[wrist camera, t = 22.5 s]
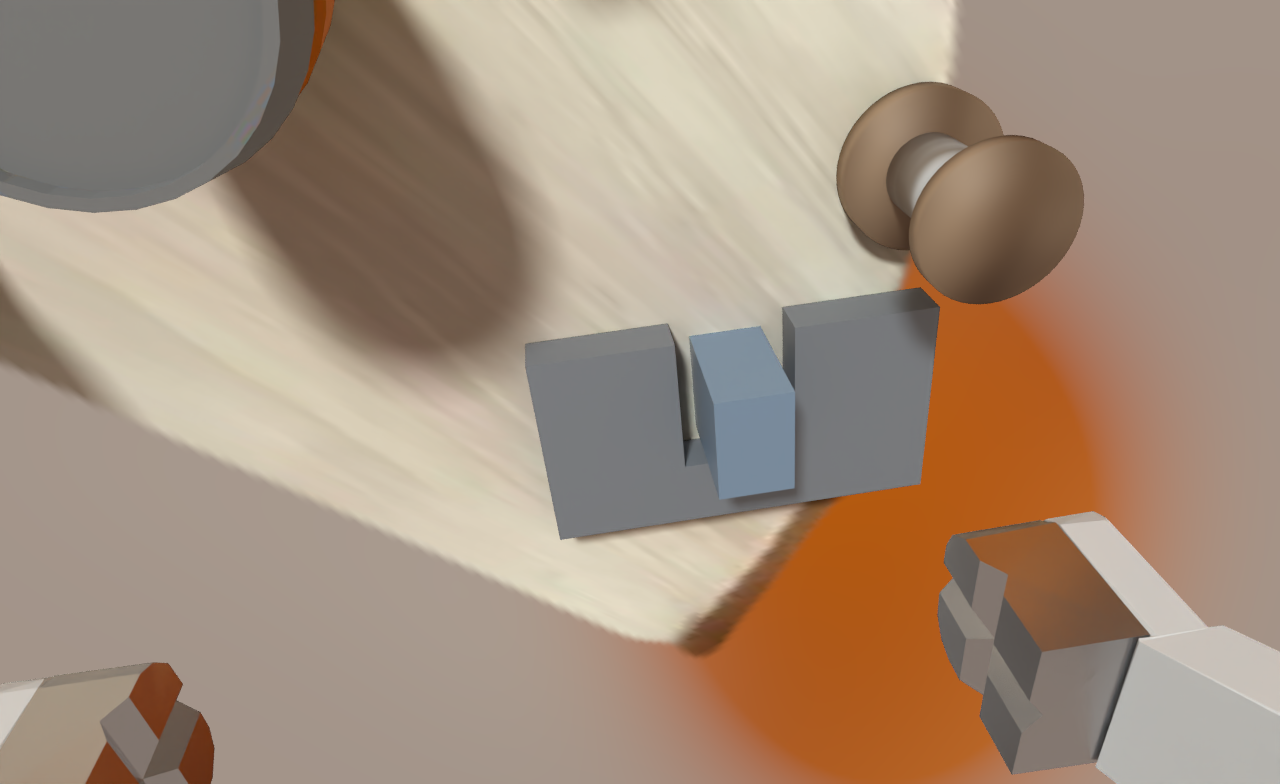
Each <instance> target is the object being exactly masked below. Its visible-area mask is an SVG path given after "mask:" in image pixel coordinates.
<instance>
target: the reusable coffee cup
mask: <svg viewBox="0 0 1280 784" xmlns="http://www.w3.org/2000/svg"><path fill="white" fill-rule="evenodd" d="M334 2H335V0H0V195H1V196H5V197H9V198H13V199H16V200H20V201H24V202H28V203H31V204H35V205H39V206H43V207H46V208H54V209H63V210H73V211H82V212H92V213H96V212H110V211H124V210H137V209H140V208H144V207H148V206H151V205H155V204H159V203H162V202H166V201H169V200H173V199H176V198H178V197H180V196H182V195H184V194H186V193H188V192H189V191H191V190H193V189H195V188H197V187H199V186H201V185H203V184H205V183H207V182H209V181H210V180H212V179H214V178H216V177H218V176H220V175H222V174H224V173H226V172H227V171H229V170H231V169H233V168H235V167H237V166H239V165H241V164H242V163H244V162H246V161H247V160H248V159H249V158H250V157H251V156H253V155H254V154H255V153H256V152H257V151H258V150H259V149H261V148H262V147H263V146H264V145H265V144H266V143H267V142H268V141H270V140H271V139H272V138H273V136H274V135H275V134H276V132H277V131H278V129H279V128H280V126H281V125H282V123H283V122H284V121H285V119H286V118H287V116H288V115H289V113H290V112H291V111H292V109H293V108H294V105H295V103H296V100H297V98H298V96H299V95H300V93H301V92H302V90H303V89H304V87H305V86H306V84H307V83H308V81H309V78H310V76H311V73H312V71H313V68H314V66H315V63H316V61H317V58H318V56H319V53H320V51H321V48H322V46H323V43H324V40H325V38H326V35H327V33H328V30H329V28H330V25H331V20H332V14H333V8H334Z"/></svg>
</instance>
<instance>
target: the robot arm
mask: <svg viewBox="0 0 1280 784" xmlns="http://www.w3.org/2000/svg"><path fill="white" fill-rule="evenodd" d="M944 564H945V565H946V567H947V569H948V570H949V572H950V573H951V575H952V577H953V579H952V580H951V581H950V582H949V583H948V584H947V585H946V586H945V587H944V588H943V590H942V591H941V592H940V594H939V605H938V621H939V627H940V633H941V638H942V642H943V645H944V648H945V650H946V653H947V656H948V658H949V661H950V662H951V664H952V666H953V668H954V670H955V672H956V674H957V676H958V678H959V680H961V681H962V682H964V683H966V684H967V685H968V686H970V687H972V688H973V689H975V690H976V691H978V692H980V693H981V694H982V695H983V700H982V706H981V711H980V718H981V720H982V722H983V723H984V725H985V727H986V729H987V731H988V732H989V734H990V736H991V738H992V740H993V741H994V743H995V745H996V746H997V749H998V750H999V752H1000V754H1001V756H1002V758H1003V759H1004V761H1005V763H1006V765H1007V767H1008V768H1009V770H1010V772H1011V774H1019V773H1026V772H1033V771H1039V770H1047V769H1054V768H1061V767H1068V766H1075V765H1081V764H1089V763H1095V762H1097V764H1096V768H1097V769H1099V770H1100V771H1101V772H1102V773H1104V774H1105V775H1106V776H1108V777H1109V778H1110V779H1112V780H1113V781H1114V782H1115V783H1117V784H1280V652H1279V651H1277V650H1275V649H1273V648H1270V647H1268V646H1266V645H1264V644H1262V643H1260V642H1258V641H1256V640H1253V639H1251V638H1249V637H1247V636H1245V635H1243V634H1241V633H1238V632H1236V631H1235V630H1232V629H1230V628H1228V627H1226V626H1224V625H1221V626H1213V627H1207V626H1206V624H1205V623H1204V622H1203V621H1202V620H1201V619H1200V618H1199V617H1198V616H1197V615H1196V614H1195V613H1194V612H1193V610H1192V609H1191V608H1190V607H1189V606H1188V605H1187V604H1186V603H1185V602H1184V601H1183V600H1182V599H1181V598H1180V597H1179V595H1177V593H1176V592H1175V591H1174V590H1173V589H1172V588H1171V587H1170V586H1169V585H1168V584H1167V583H1166V582H1165V581H1164V580H1163V578H1162V577H1161V576H1160V575H1159V574H1158V573H1157V572H1156V571H1155V570H1154V569H1153V568H1152V567H1151V565H1149V563H1148V562H1147V561H1145V559H1144V558H1143V557H1142V556H1141V555H1140V554H1139V553H1138V552H1137V551H1136V549H1135V548H1134V547H1133V546H1132V545H1131V544H1130V543H1129V542H1128V541H1127V540H1126V539H1125V538H1124V537H1123V536H1122V534H1121V533H1120V532H1119V531H1118V530H1117V529H1116V528H1115V527H1114V526H1113V525H1112V524H1111V523H1110V522H1109V520H1108V519H1106V518H1105V517H1104V516H1102V515H1100V514H1098V513H1095V512H1093V511H1092V512H1087V513H1081V514H1075V515H1069V516H1063V517H1057V518H1051V519H1046V520H1044V521H1040V520H1039V521H1033V522H1026V523H1021V524H1015V525H1009V526H1003V527H997V528H991V529H985V530H979V531H973V532H967V533H961V534H956V535H953V536H952V537H951V539H950V540H949V542H948V543H947V546H946V551H945V558H944ZM182 685H183V684H182V682H181V681H180V679H179V678H178V676H177V675H176V674H175V673H174V671H173V669H172V668H171V666H170V665H169V664H168V663H147V664H139V665H132V666H124V667H117V668H109V669H102V670H94V671H86V672H79V673H71V674H64V675H57V676H54V677H48V678H41V679H33V680H26V681H19V682H11V683H4V684H2V685H1V686H0V784H211V781H212V777H213V760H214V745H213V740H212V736H211V732H210V728H209V726H208V725H207V723H206V721H205V719H204V718H203V716H202V714H201V713H200V712H199V711H197V710H195V709H193V708H191V707H189V706H187V705H185V704H183V703H181V702H179V701H177V697H178V695H179V693H180V690H181V688H182Z"/></svg>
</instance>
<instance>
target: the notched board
mask: <svg viewBox="0 0 1280 784" xmlns="http://www.w3.org/2000/svg"><path fill="white" fill-rule="evenodd" d="M939 311H940V307H939V306H938V305H937V304H936V303H935V302H934V301H933V300H932V299H931V298H930V296H928V295H927V293H926V292H924V290H923V289H921V288H913V289H906V290H899V291H892V292H885V293H878V294H871V295H864V296H857V297H850V298H843V299H836V300H829V301H822V302H815V303H808V304H801V305H794V306H787V307H783V370H784V372H785V374H786V376H787V377H788V379H789V381H790V383H791V385H792V387H793V389H794V391H795V488H793V489H786V490H780V491H773V492H767V493H760V494H754V495H747V496H741V497H734V498H728V499H721V500H719V497H718V494H717V491H716V488H715V484H714V481H713V478H712V475H711V472H710V468H709V465H708V462H707V459H706V456H705V453H704V449H703V446H702V443H701V440H700V439H694V440H687V441H683V436H682V425H681V413H680V401H679V390H678V378H677V366H676V355H675V345H674V342H673V339H672V335H671V332H670V329H669V326H668V324H661V325H654V326H647V327H640V328H633V329H626V330H619V331H612V332H605V333H598V334H592V335H585V336H578V337H571V338H564V339H557V340H550V341H543V342H536V343H529V344H525V368H526V373H527V377H528V382H529V387H530V392H531V397H532V402H533V407H534V412H535V417H536V422H537V427H538V432H539V437H540V442H541V447H542V452H543V456H544V461H545V466H546V471H547V476H548V481H549V486H550V491H551V496H552V501H553V506H554V511H555V516H556V521H557V526H558V531H559V535H560V540H562V539H568V538H575V537H581V536H588V535H594V534H601V533H607V532H614V531H620V530H627V529H633V528H640V527H646V526H652V525H659V524H665V523H672V522H678V521H685V520H691V519H698V518H704V517H711V516H717V515H724V514H730V513H736V512H743V511H749V510H756V509H762V508H769V507H775V506H782V505H788V504H795V503H801V502H808V501H814V500H820V499H827V498H833V497H840V496H846V495H853V494H859V493H866V492H872V491H879V490H885V489H892V488H898V487H904V486H911V485H917V484H920V481H921V472H922V462H923V454H924V445H925V436H926V427H927V418H928V409H929V401H930V392H931V383H932V374H933V365H934V356H935V347H936V338H937V328H938V320H939Z"/></svg>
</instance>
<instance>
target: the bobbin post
mask: <svg viewBox="0 0 1280 784" xmlns="http://www.w3.org/2000/svg"><path fill="white" fill-rule="evenodd" d="M836 177H837V190H838V195H839V198H840V201H841V204H842V206H843V208H844V210H845V212H846V213H847V215H848V216H849V218H850V219H851V220H852V221H853V222H854V223H855V224H856V225H857V226H858V227H859V228H860V229H861V230H862V231H863V232H864V233H865V234H866V235H867V236H868V237H869V238H870V239H872V240H873V241H875V242H877V243H879V244H881V245H883V246H886V247H889V248H893V249H898V250H910V252H911V255H912V259H913V261H914V263H915V265H916V267H917V269H918V270H919V272H920V273H921V274H922V275H923V277H924V278H925V279H926V280H927V281H928V282H929V283H930V284H931V285H932V286H933V287H935V288H936V289H937V290H938V291H939V292H941V293H942V294H943V295H945V296H947V297H949V298H950V299H953V300H956V301H959V302H963V303H968V304H987V303H993V302H999V301H1002V300H1005V299H1008V298H1011V297H1013V296H1016V295H1018V294H1020V293H1022V292H1024V291H1026V290H1027V289H1029V288H1031V287H1032V286H1034V285H1035V284H1037V283H1038V282H1039V281H1040V280H1042V279H1043V278H1044V277H1045V276H1047V275H1048V274H1049V273H1050V272H1051V271H1052V270H1053V269H1054V268H1055V267H1056V266H1057V264H1058V263H1059V262H1060V261H1061V259H1062V258H1063V257H1064V256H1065V254H1066V253H1067V251H1068V250H1069V248H1070V246H1071V244H1072V242H1073V241H1074V238H1075V237H1076V234H1077V232H1078V229H1079V227H1080V223H1081V219H1082V215H1083V208H1084V193H1083V186H1082V182H1081V179H1080V176H1079V174H1078V172H1077V170H1076V168H1075V167H1074V165H1073V164H1072V163H1071V161H1070V160H1069V159H1068V158H1067V157H1066V156H1065V155H1064V154H1063V153H1061V152H1059V151H1058V150H1056V149H1054V148H1052V147H1051V146H1048V145H1047V144H1044V143H1042V142H1040V141H1038V140H1035V139H1033V138H1029V137H1025V136H1018V135H1006V136H1003V131H1002V129H1001V126H1000V123H999V121H998V120H997V118H996V116H995V114H994V113H993V112H992V110H991V109H990V108H989V107H988V106H987V105H986V104H985V103H984V102H983V101H982V100H980V99H979V98H977V97H975V96H974V95H972V94H969V93H967V92H965V91H963V90H961V89H959V88H956V87H954V86H952V85H948V84H944V83H938V82H921V83H915V84H910V85H907V86H904V87H901V88H899V89H897V90H894V91H892V92H890V93H888V94H887V95H885V96H884V97H882V98H881V99H879V100H878V101H876V102H875V103H874V104H873V105H872V106H870V107H869V108H868V109H867V110H866V111H865V112H864V113H863V114H862V115H861V117H860V118H859V119H858V120H857V122H856V123H855V124H854V126H853V127H852V129H851V131H850V132H849V134H848V136H847V138H846V140H845V142H844V144H843V147H842V150H841V152H840V156H839V160H838V165H837V175H836Z"/></svg>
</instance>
